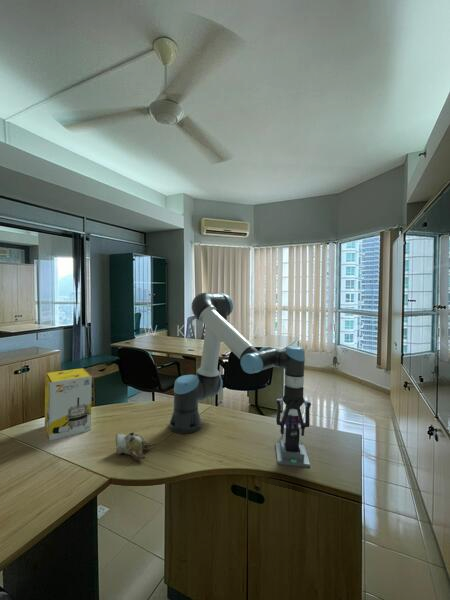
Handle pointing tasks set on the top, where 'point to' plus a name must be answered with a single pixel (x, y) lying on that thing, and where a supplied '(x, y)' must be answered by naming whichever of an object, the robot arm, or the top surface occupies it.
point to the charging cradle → (291, 455)
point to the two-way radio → (292, 437)
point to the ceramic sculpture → (132, 445)
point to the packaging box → (67, 402)
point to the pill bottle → (294, 417)
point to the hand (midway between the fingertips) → (291, 442)
